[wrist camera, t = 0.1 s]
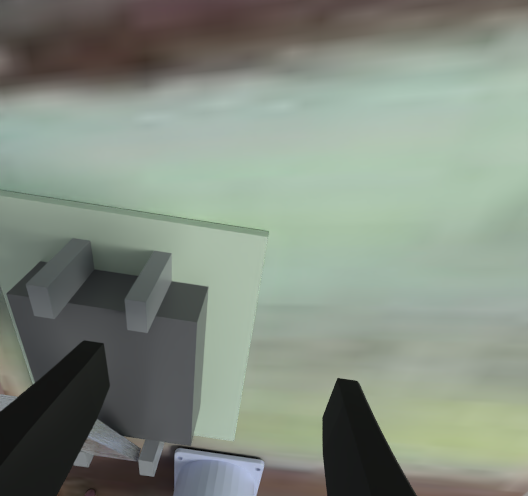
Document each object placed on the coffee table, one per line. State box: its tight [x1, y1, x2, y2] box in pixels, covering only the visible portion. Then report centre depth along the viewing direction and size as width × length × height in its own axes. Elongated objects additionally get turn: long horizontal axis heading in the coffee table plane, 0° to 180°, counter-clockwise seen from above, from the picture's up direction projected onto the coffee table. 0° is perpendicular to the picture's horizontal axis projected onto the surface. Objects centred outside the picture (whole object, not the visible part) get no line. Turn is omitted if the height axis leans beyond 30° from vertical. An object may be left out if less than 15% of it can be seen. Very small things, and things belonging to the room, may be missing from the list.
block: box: [0, 394, 141, 461], centre depth 20 cm, size 14×3×1 cm, turn 173°
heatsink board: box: [0, 190, 269, 477], centre depth 23 cm, size 20×16×5 cm
